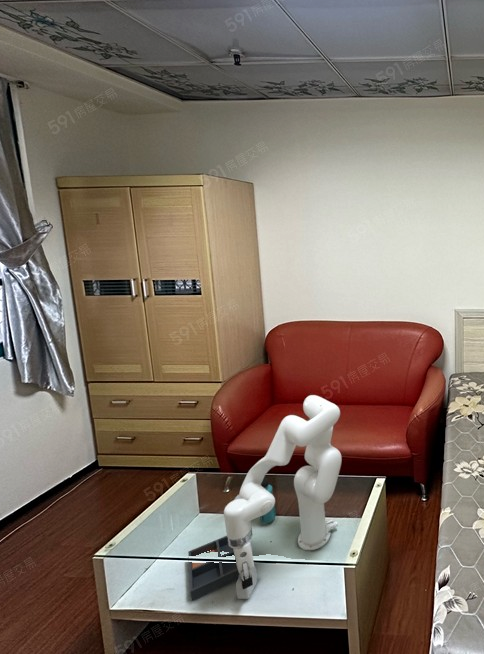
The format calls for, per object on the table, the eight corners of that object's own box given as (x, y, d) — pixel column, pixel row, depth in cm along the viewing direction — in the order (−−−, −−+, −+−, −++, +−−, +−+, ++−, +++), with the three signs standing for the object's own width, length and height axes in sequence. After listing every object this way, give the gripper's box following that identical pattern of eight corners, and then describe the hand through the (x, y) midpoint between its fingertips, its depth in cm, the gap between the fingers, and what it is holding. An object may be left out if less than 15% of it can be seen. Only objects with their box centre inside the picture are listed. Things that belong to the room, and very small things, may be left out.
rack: (245, 536, 167) (244, 528, 166) (253, 572, 151) (252, 563, 150) (189, 560, 156) (188, 551, 155) (191, 601, 141) (190, 591, 140)
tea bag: (257, 580, 148) (254, 557, 146) (248, 598, 141) (244, 575, 139) (247, 580, 148) (244, 557, 146) (237, 598, 141) (234, 575, 139)
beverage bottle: (279, 515, 178) (274, 475, 173) (271, 527, 171) (266, 486, 167) (265, 514, 178) (260, 474, 174) (256, 526, 172) (251, 485, 167)
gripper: (256, 548, 135) (261, 591, 138) (248, 514, 149) (253, 554, 153) (230, 559, 131) (237, 603, 134) (225, 523, 145) (231, 564, 148)
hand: (245, 577), depth 143 cm, fingers closed on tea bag, 7 cm apart
